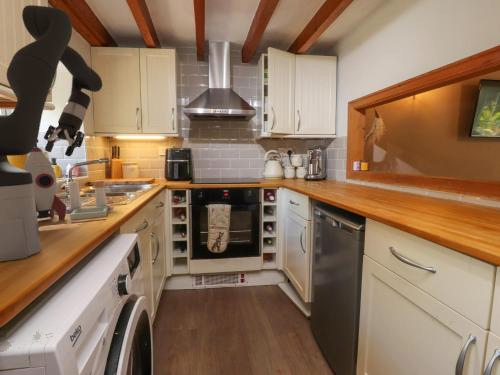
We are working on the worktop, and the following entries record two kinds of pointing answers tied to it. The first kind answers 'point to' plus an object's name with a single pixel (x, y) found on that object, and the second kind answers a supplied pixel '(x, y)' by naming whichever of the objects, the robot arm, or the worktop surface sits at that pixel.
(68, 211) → the holder
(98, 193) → the cylinder
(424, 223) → the worktop surface
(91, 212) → the tray
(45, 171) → the toy
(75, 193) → the cylinder
